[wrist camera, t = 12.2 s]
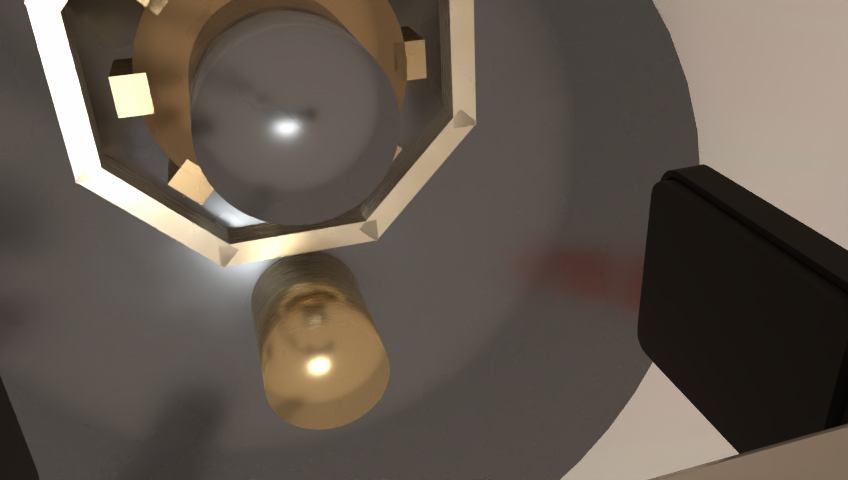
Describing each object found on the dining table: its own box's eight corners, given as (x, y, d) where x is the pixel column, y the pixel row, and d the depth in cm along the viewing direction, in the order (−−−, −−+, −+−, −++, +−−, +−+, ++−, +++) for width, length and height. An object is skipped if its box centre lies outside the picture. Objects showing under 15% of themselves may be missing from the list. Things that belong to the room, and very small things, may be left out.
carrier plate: (-462, -180, 19) (-728, -188, 13) (728, -231, 26) (878, -250, 21) (-25, 668, 34) (-64, 828, 29) (645, 488, 42) (718, 588, 36)
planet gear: (79, -84, 22) (42, -54, 16) (400, -108, 24) (476, -90, 18) (150, 214, 26) (142, 327, 20) (416, 172, 28) (482, 263, 22)
